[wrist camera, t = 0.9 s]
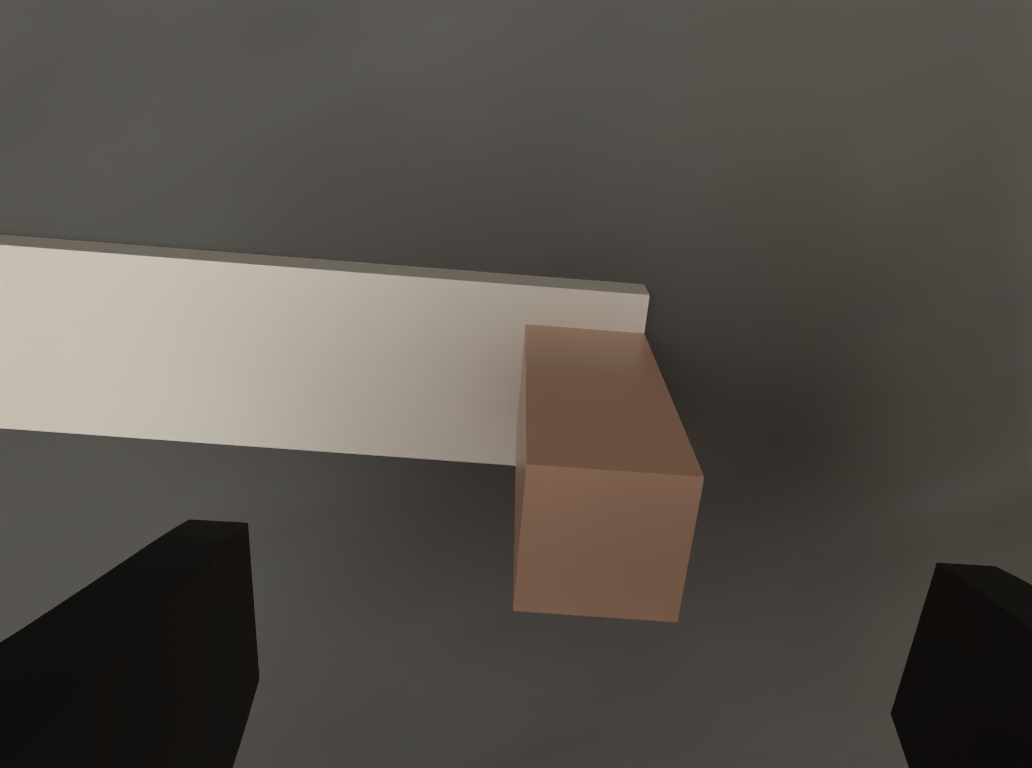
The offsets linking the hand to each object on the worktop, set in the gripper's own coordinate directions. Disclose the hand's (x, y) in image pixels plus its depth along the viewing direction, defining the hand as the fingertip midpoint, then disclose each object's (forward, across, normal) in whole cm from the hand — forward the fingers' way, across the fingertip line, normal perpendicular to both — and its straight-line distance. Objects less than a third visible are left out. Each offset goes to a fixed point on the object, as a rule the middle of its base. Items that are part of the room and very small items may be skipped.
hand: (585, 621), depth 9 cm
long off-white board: (+10, +7, +1) cm, 12 cm away
